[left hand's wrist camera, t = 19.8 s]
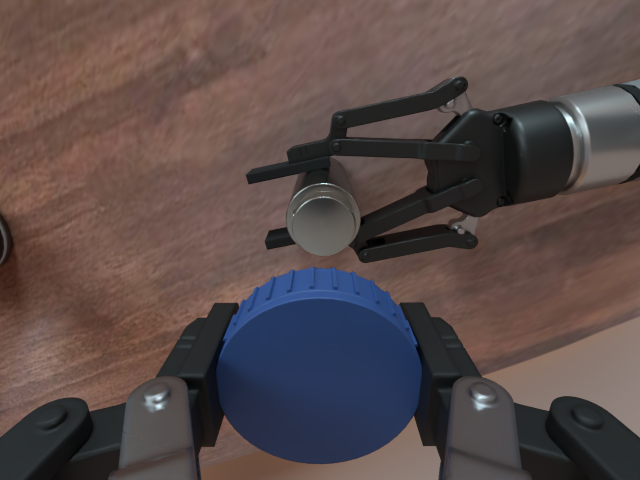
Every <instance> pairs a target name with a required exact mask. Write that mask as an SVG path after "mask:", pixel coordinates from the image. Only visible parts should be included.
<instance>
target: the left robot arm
mask: <svg viewBox="0 0 640 480" xmlns="http://www.w3.org/2000/svg"><path fill="white" fill-rule="evenodd" d="M11 246H12V241H11V234H10V231H9V228H8V226H7V224H6V222H5V220H4V218H3V217H2V215H1V214H0V266H1V265H2V264H4V263H5V261H6V260H7V259H8V257H9V255H10V252H11ZM400 307H401V309H402V311H403V314H404V316H405V319H406V320H408V322H409V325H410V327H411V330H412V332H413V334H414V337H415V339H416V342H417V344H418V347H416V350H417V352H418V355H419V358H420V361H421V365H422V377H421V385H420V393H419V402H418V408H417V410H416V412H415V414H414V417H415V421H416V424H417V427H418V430H419V434H420V437H421V440H422V444H423V446H436V447H437V450H438V453H439V456H440V459H441V463H440V471H439V480H640V438H639V437H638V436H637V435H636V434H635V433H633V432H632V431H631V430H630V429H629V428H627V427H626V426H625V425H624V424H623V423H621V422H620V421H619V420H618V419H617V418H615V417H614V416H613V415H612V414H611V413H609V412H608V411H607V410H605V409H603V408H602V407H600V406H598V405H596V404H594V403H592V402H590V401H587V400H584V399H581V398H577V397H571V396H564V397H559V398H556V399H555V400H554V401H553V402H552V404H551V406H550V410H549V411H546V410H541V409H537V408H533V407H529V406H524V405H521V404H517V403H514V402H513V399H512V397H511V396H510V394H509V393H508V392H507V391H506V390H505V389H504V388H503V387H502V386H500V385H499V384H497V383H495V382H493V381H491V380H489V379H486V378H483V377H482V376H481V375H480V373H479V371H478V370H477V368H476V366H475V365H474V363H473V361H472V360H471V358H470V356H469V355H468V353H467V351H466V350H465V348H463V345H462V343H461V341H460V340H459V339H458V336H457V335H456V333H455V331H454V330H453V328H452V326H450V325H449V324H448V323H446V322H445V321H444V320H443V319H441V318H440V317H431V316H430V314H429V312H428V310H427V308H426V307H425V305H424V303H400ZM238 310H239V305H238V303H215V304H214V305H213V307H212V309H211V311H210V313H209V314H208V316H207V318H197V319H196V320H195V321H193V322H192V323H191V324H189V325H188V326H187V327H186V328H185V330H184V331H183V333H182V335H181V336H180V340H178V341H177V343H176V345H175V348H173V350H172V351H171V353H170V355H169V356H168V358H167V359H166V361H165V363H164V364H163V366H162V368H161V369H160V371H159V373H158V374H157V376H156V378H154V379H151V380H149V381H147V382H145V383H143V384H141V385H140V386H138V387H137V388H136V389H135V390H134V391H133V392H132V393H131V394H130V396H129V397H128V399H127V402H125V403H122V404H119V405H116V406H112V407H107V408H103V409H99V410H95V411H91V412H89V409H88V405H87V403H86V402H85V401H84V400H82V399H79V398H73V397H72V398H62V399H58V400H55V401H52V402H49V403H47V404H45V405H43V406H41V407H39V408H37V409H35V410H34V411H32V412H31V413H30V414H28V415H27V416H26V417H25V418H23V419H22V420H21V421H20V422H19V423H17V424H16V425H15V426H14V427H13V428H11V429H10V430H9V431H8V432H7V433H5V434H4V435H3V436H2V437H1V438H0V480H201V471H200V463H199V457H198V455H199V452H200V449H201V447H214V446H215V443H216V440H217V437H218V433H219V430H220V427H221V424H222V420H223V417H224V413H223V411H222V408H221V406H220V402H219V395H218V387H217V378H216V368H217V364H218V360H219V357H220V353H221V351H222V348H223V346H224V344H225V341H223V339H224V336H225V334H226V331H227V329H228V327H229V324H230V322H231V319H232V317H233V315H234V314H235V315H237V312H238Z"/></svg>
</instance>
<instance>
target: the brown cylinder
mask: <svg viewBox="0 0 640 480" xmlns="http://www.w3.org/2000/svg"><path fill="white" fill-rule="evenodd" d="M330 162H331V167H327V168H323V169H318V170H313V171H309V172H304V173H299V175H298V178H297V181H296V184H295V187H294V190H293V193H292V197H291V200H290V203H289V206H288V209H287V213H286V225H287V229H288V232H289V234H290V236H291V238H292V239H293V241H294V242H295V243H296V244H297V245H298V246H299V247H301V248H302V249H303V250H305V251H306V252H308V253H310V254H313V255H316V256H331V255H334V254H336V253H339V252H340V251H342V250H343V249H344V248H346V247H347V246H348V245H349V244H350V243H351V242H352V241H353V240H354V239H355V237H356V235H357V233H358V231H359V227H360V222H361V216H360V210H359V207H358V204H357V202H356V199H355V196H354V194H353V191H352V188H351V186H350V183H349V180H348V178H347V175H346V172H345V170H344V168H343V166H342V165H341V164H340V163H339V162H338V161H337V160H335V159H333V158H331V157H330Z"/></svg>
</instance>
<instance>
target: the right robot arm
mask: <svg viewBox="0 0 640 480" xmlns="http://www.w3.org/2000/svg"><path fill="white" fill-rule="evenodd" d="M467 87H468V82H467V80H466V78H464V77H455V78H450V79H447V80H444V81H443V82H441V83H439V84H438V85H436V86H435V87H433V88H432V89H430V90H428V91H427V92H425V93H421V94H416V95H412V96H407V97H403V98H398V99H393V100H389V101H384V102H380V103H375V104H371V105H366V106H361V107H357V108H352V109H348V110H343V111H339V112H336V113H334V115H333V116H332V121H331V128H330V133H329V135H328V136H327V138H325V139H323V140H319V141H314V142H310V143H305V144H301V145H296V146H293V147H292V148H290V149H289V150H288V151H287V156H288V160H289V161H287V162H283V163H278V164H273V165H269V166H264V167H260V168H255V169H252V170H251V171H250V172H248V173H247V174H246V177H247V180H248V184H253V183H257V182H262V181H267V180H271V179H276V178H281V177H285V176H290V175H295V174H299V173H304V172H309V171H313V170H318V169H323V168H327V167H331V162H330V157H329V156H333V155H337V156H365V157H392V158H418V159H424V162H425V165H426V167H427V170H428V176H427V185H426V186H424V187H422V188H420V189H418V190H417V191H416V192H415V193H413V194H411V195H409V196H407V197H405V198H402V199H400V200H398V201H396V202H394V203H392V204H389V205H387V206H385V207H383V208H381V209H378V210H376V211H374V212H372V213H370V214H368V215H365V216H363V217H361V222H360V227H359V231H358V233H357V235H356V237H355V239H354V240H353V241H352V242H351V243H350V244H349V246H350V247H351V248H353V249H354V251H355V252H356V254H357V256H358V258H359V260H360V261H361V262H363V263H369V262H374V261H379V260H384V259H389V258H394V257H399V256H404V255H409V254H414V253H419V252H424V251H430V250H435V249H440V248H445V247H455V248H463V249H473V248H475V247H476V246H477V244H478V239H477V238H476V237H475V236H474V233H475V230H476V226H477V223H478V220H479V217H482V216H484V215H486V214H487V213H489V212H490V211H492V210H493V209H495V208H498V207H503V206H511V205H516V204H521V203H526V202H531V201H536V200H541V199H546V198H551V197H554V196H555V195H557V194H559V195H568V194H572V193H577V192H582V191H586V190H591V189H596V188H601V187H605V186H610V185H615V184H622V183H626V182H630V181H636V180H640V79H639V80H635V81H630V82H626V83H622V84H615V85H610V86H605V87H600V88H596V89H591V90H586V91H581V92H577V93H572V94H567V95H562V96H558V97H553V98H550V99H549V100H547V101H542V100H539V101H534V102H529V103H525V104H520V105H515V106H511V107H506V108H502V109H497V110H493V111H483V110H481V109H473V108H472V106H471V103H470V101H469V99H468V97H467V94H466V92H465V91H466V89H467ZM436 108H437V110H438V111H439V112H444V113H448V112H451V111H452V112H454V113H455V114H456V116H455V117H454V118H453V119H452V120H451V121H450V122H449V123H448V124H447V125H446V126H445V127H444V128H443V130H442V131H441V132H440V133H439V134H438V135H437V136H436V137H435V138H434V139H433V140H430V139H390V138H363V137H346V133H347V128H350V127H354V126H359V125H364V124H368V123H373V122H377V121H382V120H387V119H391V118H396V117H401V116H405V115H410V114H415V113H419V112H424V111H429V110H432V109H436ZM447 206H449V207H452V208H454V209H456V210H458V211H460V212H463V215H462V216H461V217H460V218H457V219H452V220H450V221H449V222H448V225H446V224H440V225H432V226H427V227H422V228H417V229H412V230H408V231H403V232H398V233H393V234H388V235H383V236H378V237H375V236H377V235H379V234H381V233H384V232H386V231H388V230H390V229H393V228H395V227H397V226H399V225H402V224H404V223H406V222H408V221H410V220H413V219H415V218H417V217H419V216H422V215H424V214H426V213H433V212H436V211H438V210H441V209H443V208H445V207H447ZM265 244H266V247H267V250H268V249H273V248H278V247H283V246H288V245H293V244H296V243H295V242H294V241H293V239H292V238H291V236H290V234H289V232H288V229H287V227H285V228H280V229H275V230H270V231H269V233H268V235H267V237H266V240H265Z"/></svg>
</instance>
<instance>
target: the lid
mask: <svg viewBox="0 0 640 480" xmlns="http://www.w3.org/2000/svg"><path fill="white" fill-rule="evenodd" d="M223 341H225V344H224V346H223V348H222V351H221V353H220V357H219V360H218V364H217V368H216V378H217V387H218V395H219V402H220V406H221V408H222V411H223V413H224V414H225V416H226V418H227V420H228V421H229V422H230V424H231V425H232V426H233V428H234V429H235V430H236V431H237V432H238V433H239V434H240V435H241V436H242V437H243V438H245V439H246V440H247V441H248V442H250V443H251V444H252V445H254V446H256V447H257V448H259V449H261V450H262V451H265V452H267V453H269V454H271V455H274V456H277V457H279V458H282V459H286V460H290V461H294V462H300V463H308V464H330V463H338V462H345V461H349V460H352V459H356V458H359V457H362V456H365V455H367V454H370V453H372V452H374V451H376V450H378V449H380V448H381V447H383V446H384V445H386V444H387V443H389V442H390V441H391V440H393V439H394V438H395V437H396V436H398V435H399V434H400V433H401V431H402V430H403V429H404V428H405V427H406V426H407V424H408V423H409V422H410V420H411V419H412V417H413V416H414V414H415V412H416V410H417V408H418V402H419V393H420V385H421V377H422V365H421V361H420V358H419V355H418V352H417V350H416V347H418V344H417V342H416V339H415V337H414V334H413V332H412V330H411V327H410V325H409V322H408V320H406V319H405V316H404V314H403V311H402V309H401V307H400V305H397V306H396V304H395V303H394V301H393V300H392V299H391V297H390V294H389V292H388V291H386V292H384V291H383V290H381V289H380V288H379V287H378V286H376V285H375V284H374V281H373V280H370V281H368V280H366V279H364V278H362V277H360V276H357V275H356V273H355V272H352V273H348V272H345V271H340V270H336V268H334V267H332V269H322V268H315V267H311V269H304V270H299V271H294V270H290V273H287V274H284V275H281V276H279V277H277V278H275V277H272V278H271V280H270V281H269V282H267V283H266V284H264V285H263V286H261V287H260V288H258V287H256V288H255V289H254V292H253V294H251V295H250V297H249V298H248V299H247V300H244V299H243V301H242V302H241V305H240V307H239V310H238V312H237V315H235V314H234V315H233V317H232V319H231V322H230V324H229V327H228V329H227V331H226V334H225V336H224V339H223Z"/></svg>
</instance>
